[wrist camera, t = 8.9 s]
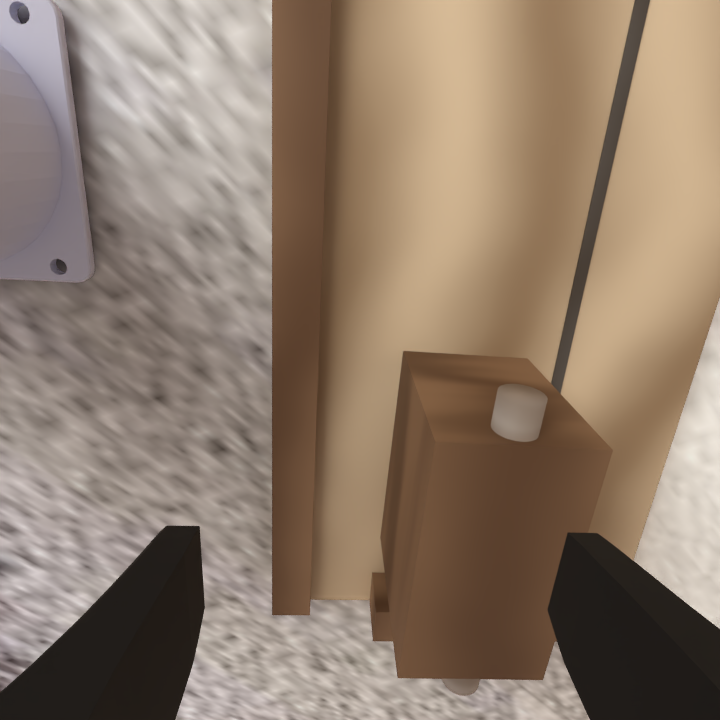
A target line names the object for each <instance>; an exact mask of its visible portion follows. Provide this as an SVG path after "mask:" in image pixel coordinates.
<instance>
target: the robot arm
mask: <svg viewBox="0 0 720 720" xmlns="http://www.w3.org/2000/svg"><path fill="white" fill-rule="evenodd" d="M23 5H25V6H26V7H27V8H28V11H29V13H30V15H29V20H28V21H27V23H25V24H22V23H21V22H20V21H19V19H18V16H17V12H18V9H19V8H20V6H23ZM57 259H60V260H62V261H63V262H64V263H65V264H66V266H67V272H66V273H65V272H62V271H60V270H59V269H58V268H57V266H56V260H57ZM94 272H95V263H94V255H93V247H92V240H91V232H90V224H89V216H88V208H87V200H86V192H85V185H84V177H83V169H82V161H81V153H80V145H79V137H78V130H77V122H76V114H75V106H74V98H73V90H72V83H71V75H70V67H69V59H68V51H67V43H66V35H65V28H64V20H63V16H62V13H61V10H60V9H59V7H58V6H57V4H56V3H55V2H53V1H52V0H0V279H12V280H33V281H54V282H75V283H78V282H84V281H86V280H87V279H89V278H90V277H92V275H93V274H94ZM204 609H205V604H204V589H203V573H202V558H201V542H200V527H199V526H166V527H165V528H163V529H162V530H161V531H160V532H159V533H158V535H157V536H156V537H155V538H154V539H153V540H152V541H151V543H150V544H149V545H148V546H147V547H146V548H145V549H144V550H143V552H142V553H141V554H140V555H139V556H138V557H137V558H136V559H135V561H134V562H133V563H132V564H131V565H130V566H129V567H128V568H127V569H126V570H125V571H124V573H123V574H122V575H121V576H120V577H119V578H118V579H117V580H116V581H115V582H114V583H113V584H112V586H111V587H110V588H109V589H108V590H107V591H106V592H105V593H104V594H103V595H102V596H101V597H100V598H99V599H98V600H97V601H96V602H95V603H94V604H93V605H92V606H91V607H90V608H89V609H88V610H87V612H86V613H85V614H84V615H83V616H82V617H81V618H80V619H79V620H78V621H77V622H76V623H75V624H74V625H73V626H72V627H70V628H69V629H68V630H67V631H66V632H65V633H64V634H63V635H62V636H61V637H60V638H59V639H58V640H57V641H56V642H55V643H54V644H53V645H52V646H51V647H50V648H48V649H47V650H46V651H45V652H44V653H43V654H42V655H41V656H40V657H39V658H38V659H37V660H36V661H35V662H34V663H33V664H32V665H31V666H29V667H28V668H27V669H26V670H25V671H24V672H23V673H22V674H21V675H19V676H18V677H17V678H16V679H15V680H14V681H13V682H12V683H10V684H9V685H8V686H7V687H6V688H5V689H4V690H2V691H1V692H0V720H175V719H176V716H177V712H178V709H179V706H180V703H181V700H182V697H183V694H184V691H185V687H186V684H187V681H188V678H189V675H190V672H191V668H192V665H193V661H194V657H195V652H196V647H197V643H198V638H199V633H200V628H201V623H202V619H203V614H204ZM547 610H548V614H549V617H550V620H551V623H552V627H553V630H554V633H555V636H556V639H557V642H558V645H559V648H560V651H561V654H562V657H563V660H564V663H565V665H566V668H567V670H568V672H569V674H570V677H571V679H572V681H573V683H574V686H575V688H576V690H577V692H578V694H579V697H580V699H581V701H582V703H583V705H584V708H585V710H586V712H587V714H588V716H589V718H590V720H720V629H719V628H718V627H716V626H715V625H714V624H712V623H711V622H710V621H708V620H707V619H706V618H705V617H703V616H702V615H701V614H699V613H698V612H697V611H696V610H694V609H693V608H692V607H690V606H689V605H688V604H687V603H685V602H684V601H683V600H682V599H680V598H679V597H678V596H677V595H675V594H674V593H673V592H671V591H670V590H669V589H668V588H666V587H665V586H664V585H663V584H662V583H660V582H659V581H658V580H657V579H655V578H654V577H653V576H652V575H650V574H649V573H648V572H647V571H645V570H644V569H643V568H642V567H640V566H639V565H638V564H637V563H635V562H634V561H633V560H632V559H630V558H629V557H628V556H627V555H625V554H624V553H623V552H622V551H620V550H619V549H618V548H617V547H615V546H614V545H613V544H611V543H610V542H609V541H608V540H606V539H605V538H603V537H602V536H601V535H599V534H598V533H570V532H568V533H567V537H566V540H565V544H564V548H563V552H562V556H561V559H560V563H559V567H558V571H557V575H556V579H555V582H554V586H553V590H552V594H551V598H550V601H549V605H548V609H547Z"/></svg>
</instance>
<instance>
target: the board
mask: <svg viewBox="0 0 720 720" xmlns="http://www.w3.org/2000/svg"><path fill="white" fill-rule="evenodd" d="M719 298H720V0H272V615H310V599H315V600H370V611H371V623H372V635H373V641H393V636H392V628H391V620H390V612H389V603H388V595H387V587H386V579H385V571H384V563H383V555H382V547H381V539H380V535H381V527H382V519H383V511H384V503H385V494H386V486H387V478H388V470H389V462H390V454H391V446H392V438H393V429H394V421H395V413H396V405H397V397H398V389H399V381H400V372H401V364H402V356H403V351H414V352H431V353H447V354H463V355H480V356H496V357H513V358H528V359H529V360H530V362H531V363H532V364H533V365H534V366H535V367H536V368H537V369H538V370H539V371H540V372H541V373H542V374H543V376H544V377H545V378H546V379H547V380H548V381H549V382H550V383H551V384H552V385H553V386H554V387H555V388H556V389H557V391H558V392H559V393H560V394H561V395H562V396H563V397H564V398H565V399H566V400H567V401H568V402H569V403H570V404H571V406H572V407H573V408H574V409H575V410H576V411H577V412H578V413H579V414H580V415H581V416H582V417H583V418H584V420H585V421H586V422H587V423H588V424H589V425H590V426H591V427H592V428H593V429H594V430H595V431H596V432H597V433H598V435H599V436H600V437H601V438H602V439H603V440H604V441H605V442H606V443H607V444H608V445H609V446H610V447H611V448H612V450H613V452H612V456H611V459H610V462H609V465H608V469H607V472H606V475H605V479H604V482H603V485H602V488H601V492H600V495H599V498H598V501H597V505H596V508H595V511H594V515H593V518H592V521H591V524H590V528H589V531H588V533H598V534H599V535H601V536H602V537H603V538H605V539H606V540H608V541H609V542H610V543H611V544H613V545H614V546H615V547H617V548H618V549H619V550H620V551H622V552H623V553H624V554H625V555H627V556H628V557H629V558H630V559H632V560H633V559H634V556H635V553H636V550H637V547H638V544H639V541H640V538H641V535H642V532H643V529H644V526H645V523H646V520H647V517H648V514H649V511H650V508H651V505H652V502H653V499H654V496H655V492H656V489H657V486H658V483H659V480H660V477H661V474H662V471H663V468H664V465H665V462H666V459H667V456H668V453H669V450H670V447H671V444H672V441H673V438H674V435H675V432H676V429H677V425H678V422H679V419H680V416H681V413H682V410H683V407H684V404H685V401H686V398H687V395H688V392H689V389H690V386H691V383H692V380H693V377H694V374H695V371H696V368H697V365H698V362H699V359H700V355H701V352H702V349H703V346H704V343H705V340H706V337H707V334H708V331H709V328H710V325H711V322H712V319H713V316H714V313H715V310H716V307H717V304H718V301H719ZM555 642H557V639H555Z"/></svg>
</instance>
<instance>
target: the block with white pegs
mask: <svg viewBox="0 0 720 720" xmlns="http://www.w3.org/2000/svg"><path fill="white" fill-rule="evenodd" d="M612 452H613V450H612V448H611V447H610V446H609V445H608V444H607V443H606V442H605V441H604V440H603V439H602V438H601V437H600V436H599V435H598V433H597V432H596V431H595V430H594V429H593V428H592V427H591V426H590V425H589V424H588V423H587V422H586V421H585V420H584V418H583V417H582V416H581V415H580V414H579V413H578V412H577V411H576V410H575V409H574V408H573V407H572V406H571V404H570V403H569V402H568V401H567V400H566V399H565V398H564V397H563V396H562V395H561V394H560V393H559V392H558V391H557V389H556V388H555V387H554V386H553V385H552V384H551V383H550V382H549V381H548V380H547V379H546V378H545V377H544V376H543V374H542V373H541V372H540V371H539V370H538V369H537V368H536V367H535V366H534V365H533V364H532V363H531V362H530V360H529V359H528V358H513V357H496V356H480V355H463V354H447V353H431V352H414V351H403V356H402V364H401V372H400V381H399V389H398V397H397V405H396V413H395V421H394V429H393V438H392V446H391V454H390V462H389V470H388V478H387V486H386V494H385V503H384V511H383V519H382V527H381V535H380V539H381V547H382V555H383V563H384V571H385V579H386V587H387V595H388V603H389V612H390V620H391V628H392V636H393V644H394V652H395V660H396V668H397V676H398V678H432V679H442V681H443V683H444V684H445V686H446V687H447V688H448V689H449V690H450V691H452V692H453V693H455V694H458V695H463V696H466V695H470V694H472V693H474V692H475V691H476V690H477V688H478V685H479V681H480V679H515V680H543V678H544V675H545V671H546V668H547V665H548V662H549V658H550V655H551V652H552V648H553V645H554V642H555V639H556V636H555V633H554V630H553V627H552V623H551V620H550V617H549V614H548V610H547V609H548V605H549V601H550V598H551V594H552V590H553V586H554V582H555V579H556V575H557V571H558V567H559V563H560V559H561V556H562V552H563V548H564V544H565V540H566V537H567V533H568V532H570V533H588V531H589V528H590V524H591V521H592V518H593V515H594V511H595V508H596V505H597V501H598V498H599V495H600V492H601V488H602V485H603V482H604V479H605V475H606V472H607V469H608V465H609V462H610V459H611V456H612Z"/></svg>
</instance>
